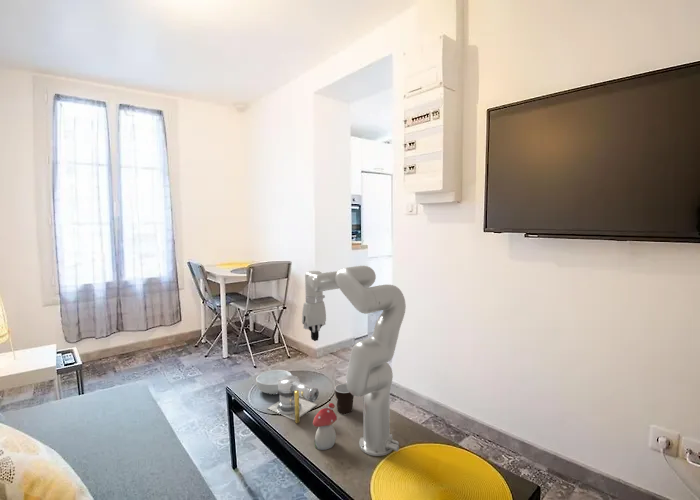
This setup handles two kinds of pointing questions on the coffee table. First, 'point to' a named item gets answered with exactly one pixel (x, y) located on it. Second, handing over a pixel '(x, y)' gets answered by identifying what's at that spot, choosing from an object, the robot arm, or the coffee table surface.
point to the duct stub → (292, 406)
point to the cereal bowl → (270, 380)
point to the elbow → (296, 388)
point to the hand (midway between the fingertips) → (314, 339)
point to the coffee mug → (343, 399)
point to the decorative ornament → (325, 428)
